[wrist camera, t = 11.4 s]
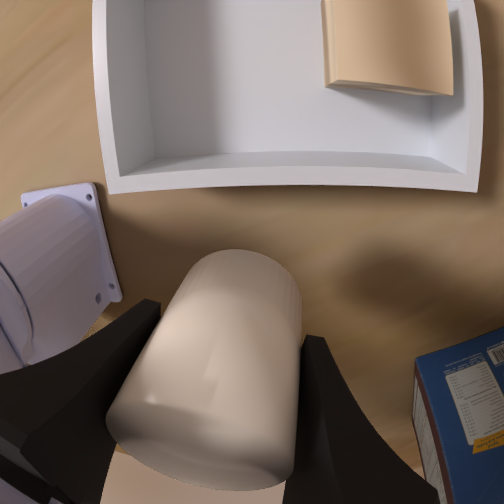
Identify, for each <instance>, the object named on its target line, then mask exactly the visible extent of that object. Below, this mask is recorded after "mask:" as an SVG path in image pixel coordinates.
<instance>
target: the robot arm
mask: <svg viewBox="0 0 504 504" xmlns="http://www.w3.org/2000/svg"><path fill="white" fill-rule="evenodd" d="M89 194H90V195H91V196H92V199H91V198H90V197H89ZM21 201H22V206H23V209H21V210H19V211H18V212H16V213H14V214H12V215H11V216H9V217H7V218H5V219H4V220H2V221H0V504H100V501H101V496H102V492H103V487H104V483H105V479H106V476H107V473H108V469H109V466H110V462H111V459H112V456H113V453H114V450H115V447H116V444H117V442H116V441H115V440H114V438H113V437H112V436H111V434H110V432H109V431H108V428H107V426H106V420H105V419H106V414H107V412H108V410H109V408H110V407H111V405H112V403H113V401H114V399H115V397H116V396H117V394H118V392H119V390H120V388H121V387H122V385H123V383H124V381H125V379H126V378H127V376H128V374H129V372H130V370H131V369H132V367H133V365H134V363H135V362H136V360H137V358H138V356H139V355H140V353H141V351H142V349H143V348H144V346H145V344H146V342H147V341H148V339H149V337H150V335H151V334H152V332H153V330H154V329H155V327H156V325H157V324H158V322H159V320H160V318H161V303H159V302H155V301H151V300H147V299H144V300H142V301H141V302H139V303H138V304H136V305H135V306H134V307H132V308H131V309H129V310H128V311H127V312H125V313H124V314H123V315H121V316H120V317H118V318H117V319H116V320H114V321H113V322H111V323H110V324H108V325H107V326H105V327H104V328H103V329H101V330H100V331H98V332H96V333H95V334H93V335H92V336H90V337H88V338H87V339H85V340H83V341H82V342H80V341H81V340H82V338H83V337H84V336H85V334H86V333H87V332H88V330H89V329H90V328H91V327H92V325H93V324H94V323H95V321H96V320H97V319H98V317H99V316H100V315H101V313H102V312H103V311H104V310H105V308H106V307H107V306H108V305H109V303H110V302H120V301H121V299H122V292H121V289H120V286H119V282H118V279H117V275H116V272H115V268H114V264H113V261H112V257H111V253H110V249H109V245H108V241H107V237H106V233H105V229H104V224H103V220H102V215H101V211H100V206H99V201H98V196H97V191H96V187H95V185H94V184H93V183H92V182H86V183H79V184H72V185H65V186H59V187H53V188H47V189H41V190H35V191H30V192H25V193H23V194H22V195H21ZM112 284H113V285H114V286H113V285H112ZM26 363H28V364H31V365H30V366H27V365H26ZM282 504H440V499H439V494H438V490H437V489H436V488H435V487H433V486H432V485H431V484H429V483H428V482H427V481H426V480H424V479H423V478H422V477H421V476H419V475H418V474H417V473H416V472H414V471H413V470H412V469H411V468H410V467H409V466H408V465H407V464H406V463H405V462H404V461H403V460H402V459H401V458H400V457H399V456H398V455H397V454H396V453H395V452H394V451H393V450H392V449H391V448H390V447H389V445H388V444H387V443H386V442H385V441H384V440H383V439H382V438H381V436H380V435H379V434H378V433H377V431H376V430H375V429H374V427H373V426H372V425H371V423H370V422H369V420H368V419H367V418H366V416H365V415H364V413H363V412H362V410H361V408H360V407H359V405H358V404H357V402H356V400H355V399H354V397H353V395H352V393H351V392H350V390H349V388H348V386H347V384H346V382H345V381H344V379H343V377H342V375H341V373H340V371H339V369H338V367H337V365H336V363H335V361H334V359H333V356H332V354H331V352H330V350H329V348H328V345H327V343H326V341H325V339H324V338H323V337H318V336H312V335H306V337H305V340H304V343H303V345H302V348H301V360H300V382H299V400H298V416H297V431H296V444H295V457H294V468H293V472H292V474H291V475H290V476H289V478H288V479H286V483H285V490H284V496H283V502H282Z"/></svg>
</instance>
